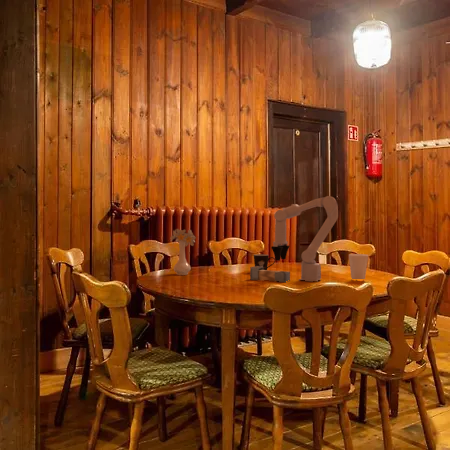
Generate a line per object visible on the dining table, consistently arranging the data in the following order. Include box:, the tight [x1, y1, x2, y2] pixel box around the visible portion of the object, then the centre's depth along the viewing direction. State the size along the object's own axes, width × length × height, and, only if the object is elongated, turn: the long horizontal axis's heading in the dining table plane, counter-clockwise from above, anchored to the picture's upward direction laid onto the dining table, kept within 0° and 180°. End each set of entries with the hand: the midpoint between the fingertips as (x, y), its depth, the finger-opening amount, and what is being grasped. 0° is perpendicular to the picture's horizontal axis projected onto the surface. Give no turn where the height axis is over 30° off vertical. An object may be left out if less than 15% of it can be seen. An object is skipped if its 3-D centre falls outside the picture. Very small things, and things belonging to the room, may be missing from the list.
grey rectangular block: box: [249, 265, 263, 281], centre depth 244 cm, size 4×7×6 cm, turn 151°
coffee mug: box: [253, 253, 276, 270], centre depth 270 cm, size 12×9×10 cm
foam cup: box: [348, 253, 369, 280], centre depth 241 cm, size 10×9×13 cm
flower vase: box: [169, 228, 197, 276], centre depth 261 cm, size 13×18×25 cm
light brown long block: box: [258, 269, 282, 282], centre depth 241 cm, size 12×4×5 cm, turn 62°
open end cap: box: [274, 270, 291, 283], centre depth 238 cm, size 5×7×5 cm
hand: (280, 259), depth 245 cm, fingers open, 7 cm apart
